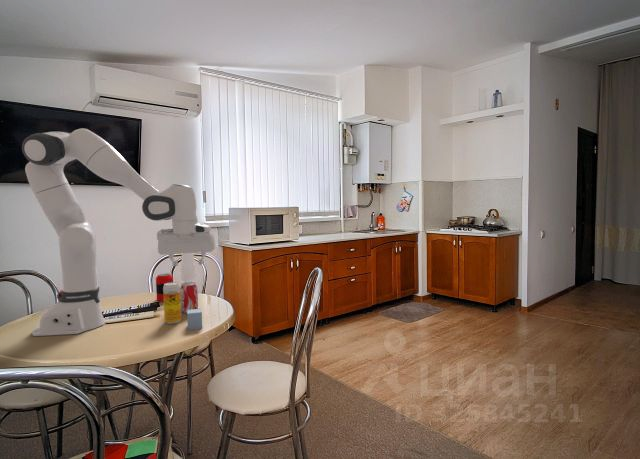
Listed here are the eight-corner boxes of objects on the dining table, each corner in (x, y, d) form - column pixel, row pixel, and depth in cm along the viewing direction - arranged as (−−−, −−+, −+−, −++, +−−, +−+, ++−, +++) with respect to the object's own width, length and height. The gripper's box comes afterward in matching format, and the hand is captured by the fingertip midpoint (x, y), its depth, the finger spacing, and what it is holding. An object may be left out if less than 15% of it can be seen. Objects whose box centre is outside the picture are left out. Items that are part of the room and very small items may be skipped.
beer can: (166, 325, 142) (164, 286, 141) (163, 321, 147) (161, 283, 146) (183, 322, 145) (181, 284, 144) (179, 318, 150) (178, 281, 149)
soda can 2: (195, 314, 156) (193, 285, 155) (178, 314, 156) (176, 285, 155) (200, 309, 163) (199, 281, 162) (184, 309, 163) (183, 281, 162)
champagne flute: (200, 303, 172) (198, 251, 171) (192, 307, 166) (190, 253, 164) (187, 302, 174) (185, 250, 172) (178, 306, 167) (176, 252, 166)
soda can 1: (176, 297, 183) (175, 273, 182) (168, 301, 175) (167, 276, 174) (162, 297, 184) (161, 273, 183) (153, 301, 176) (152, 276, 175)
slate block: (187, 329, 137) (187, 313, 137) (188, 325, 142) (187, 309, 141) (202, 328, 139) (201, 312, 138) (201, 324, 144) (201, 308, 143)
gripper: (153, 230, 135) (156, 268, 137) (211, 227, 137) (214, 264, 139) (159, 228, 142) (162, 265, 143) (214, 225, 144) (217, 261, 145)
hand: (188, 264), depth 141 cm, fingers open, 8 cm apart
